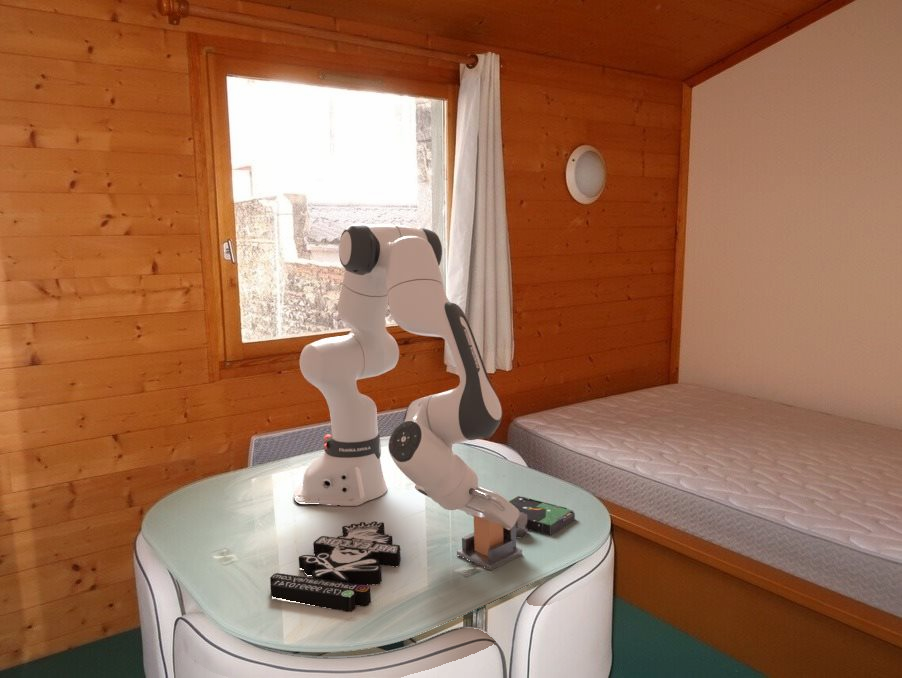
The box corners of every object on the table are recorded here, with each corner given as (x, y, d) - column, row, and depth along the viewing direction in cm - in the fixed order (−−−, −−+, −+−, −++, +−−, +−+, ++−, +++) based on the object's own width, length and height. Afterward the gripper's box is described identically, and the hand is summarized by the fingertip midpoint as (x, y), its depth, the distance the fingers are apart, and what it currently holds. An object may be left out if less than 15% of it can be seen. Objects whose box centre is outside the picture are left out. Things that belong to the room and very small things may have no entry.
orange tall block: (489, 556, 135) (488, 512, 134) (474, 550, 138) (473, 506, 137) (504, 549, 138) (503, 505, 137) (488, 543, 141) (487, 500, 140)
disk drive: (492, 522, 155) (551, 537, 146) (492, 510, 155) (551, 524, 146) (518, 506, 163) (575, 520, 154) (517, 495, 163) (575, 508, 154)
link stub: (509, 538, 145) (509, 520, 145) (507, 530, 149) (506, 512, 149) (529, 537, 146) (528, 518, 145) (525, 529, 150) (525, 511, 149)
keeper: (490, 570, 132) (489, 522, 130) (453, 554, 139) (452, 508, 138) (522, 554, 138) (521, 508, 137) (485, 539, 145) (484, 495, 144)
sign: (261, 584, 124) (340, 517, 152) (262, 600, 125) (341, 530, 153) (360, 599, 118) (423, 526, 146) (361, 616, 119) (424, 540, 147)
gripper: (503, 482, 123) (539, 519, 131) (425, 457, 138) (462, 491, 146) (486, 514, 121) (524, 549, 129) (408, 486, 135) (447, 519, 144)
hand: (490, 518), depth 138 cm, fingers open, 8 cm apart
